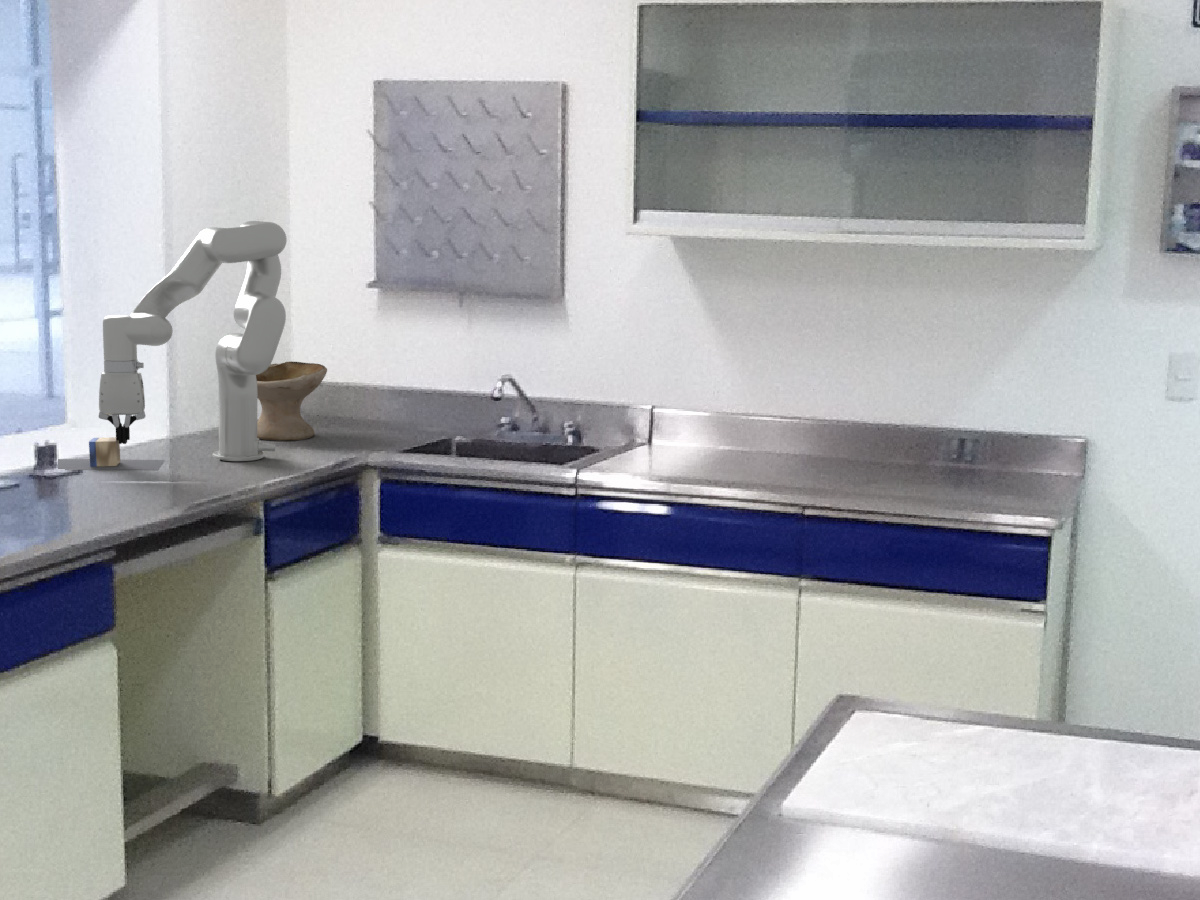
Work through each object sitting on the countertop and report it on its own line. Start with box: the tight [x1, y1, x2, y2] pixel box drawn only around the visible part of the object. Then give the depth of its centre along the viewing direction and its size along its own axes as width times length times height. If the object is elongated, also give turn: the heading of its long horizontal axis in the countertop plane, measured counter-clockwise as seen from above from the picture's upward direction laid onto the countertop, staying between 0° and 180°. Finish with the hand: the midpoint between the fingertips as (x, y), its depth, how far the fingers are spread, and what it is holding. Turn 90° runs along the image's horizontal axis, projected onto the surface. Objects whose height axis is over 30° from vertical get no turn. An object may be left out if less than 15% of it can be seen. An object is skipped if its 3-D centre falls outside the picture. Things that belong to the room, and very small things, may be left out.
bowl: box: [256, 361, 328, 442], centre depth 388 cm, size 26×25×20 cm
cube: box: [88, 436, 121, 467], centre depth 333 cm, size 6×6×6 cm
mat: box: [57, 458, 166, 471], centre depth 334 cm, size 26×14×1 cm, turn 100°
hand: (123, 442), depth 334 cm, fingers closed
